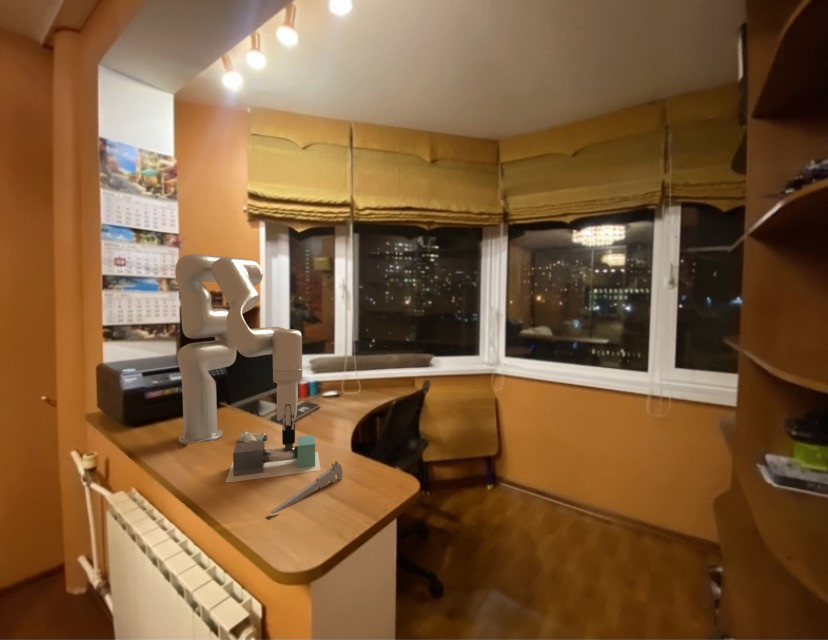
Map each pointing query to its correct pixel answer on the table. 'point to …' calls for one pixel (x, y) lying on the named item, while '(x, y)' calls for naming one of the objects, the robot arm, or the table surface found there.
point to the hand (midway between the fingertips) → (288, 440)
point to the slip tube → (280, 454)
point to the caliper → (312, 487)
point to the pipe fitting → (252, 437)
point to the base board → (275, 470)
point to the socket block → (306, 451)
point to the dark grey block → (248, 458)
